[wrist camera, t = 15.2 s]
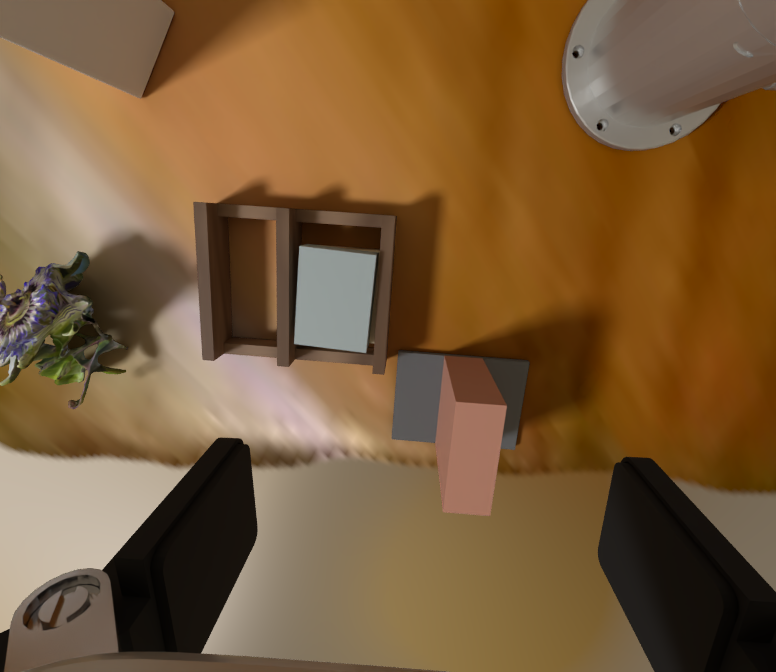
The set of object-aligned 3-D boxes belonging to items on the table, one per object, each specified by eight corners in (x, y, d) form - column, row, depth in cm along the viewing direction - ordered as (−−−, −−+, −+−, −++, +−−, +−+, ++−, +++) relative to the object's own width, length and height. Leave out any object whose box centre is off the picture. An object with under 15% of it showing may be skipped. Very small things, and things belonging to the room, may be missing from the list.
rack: (396, 216, 36) (395, 215, 32) (386, 359, 39) (384, 374, 36) (216, 203, 36) (193, 201, 32) (222, 346, 40) (202, 359, 36)
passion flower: (108, 277, 44) (51, 216, 33) (178, 351, 44) (144, 314, 33) (0, 347, 40) (-107, 303, 29) (77, 428, 40) (-2, 416, 29)
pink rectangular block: (482, 358, 38) (506, 405, 29) (471, 445, 41) (490, 516, 31) (444, 355, 38) (455, 401, 29) (435, 442, 41) (443, 512, 31)
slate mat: (527, 360, 39) (529, 362, 38) (513, 446, 41) (514, 449, 41) (398, 350, 39) (398, 352, 39) (391, 435, 42) (391, 439, 41)
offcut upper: (378, 252, 35) (376, 255, 32) (368, 344, 37) (365, 352, 35) (307, 243, 35) (299, 245, 32) (301, 335, 37) (294, 343, 35)
